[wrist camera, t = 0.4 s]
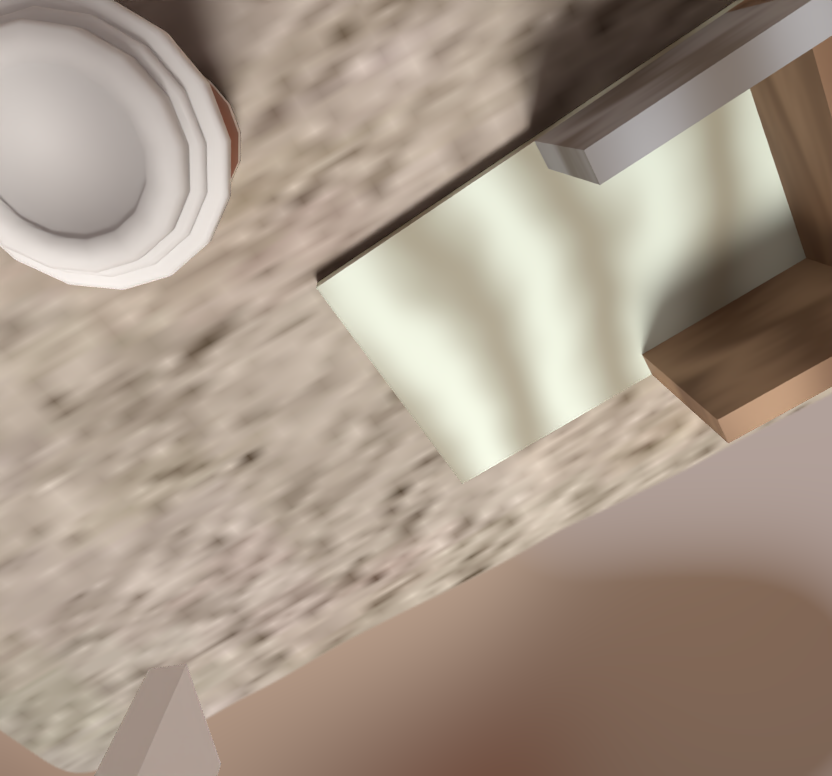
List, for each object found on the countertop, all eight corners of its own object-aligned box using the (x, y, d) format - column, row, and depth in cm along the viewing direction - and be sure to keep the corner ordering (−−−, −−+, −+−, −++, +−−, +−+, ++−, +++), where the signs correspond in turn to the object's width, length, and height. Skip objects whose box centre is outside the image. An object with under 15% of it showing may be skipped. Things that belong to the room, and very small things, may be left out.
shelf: (459, 475, 38) (487, 574, 30) (317, 282, 32) (304, 342, 24) (826, 261, 34) (973, 309, 26) (742, -4, 28) (899, -50, 20)
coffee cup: (25, 89, 27) (-196, 76, 16) (197, -15, 26) (82, -102, 15) (151, 266, 31) (40, 351, 20) (305, 182, 30) (276, 224, 19)
